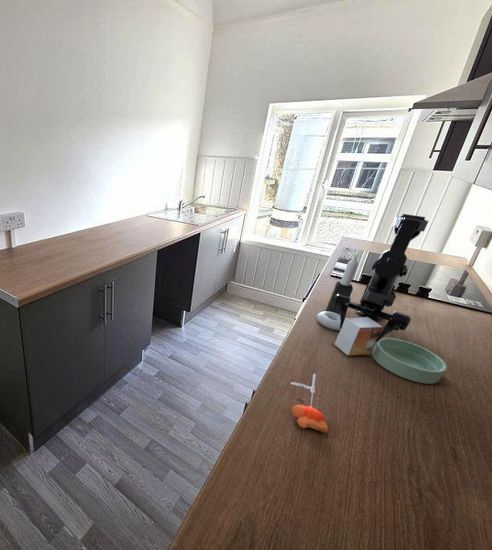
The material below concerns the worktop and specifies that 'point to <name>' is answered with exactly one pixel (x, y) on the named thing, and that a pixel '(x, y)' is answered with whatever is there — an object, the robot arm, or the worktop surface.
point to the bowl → (409, 360)
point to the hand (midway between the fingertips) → (357, 334)
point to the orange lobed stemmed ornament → (309, 413)
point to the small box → (358, 336)
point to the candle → (343, 284)
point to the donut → (329, 320)
